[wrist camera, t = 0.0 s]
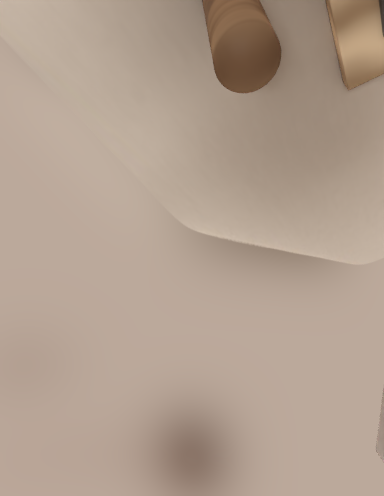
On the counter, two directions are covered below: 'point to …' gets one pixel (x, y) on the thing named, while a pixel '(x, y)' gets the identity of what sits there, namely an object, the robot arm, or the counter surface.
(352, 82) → the collar block
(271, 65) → the peg
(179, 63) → the counter surface
